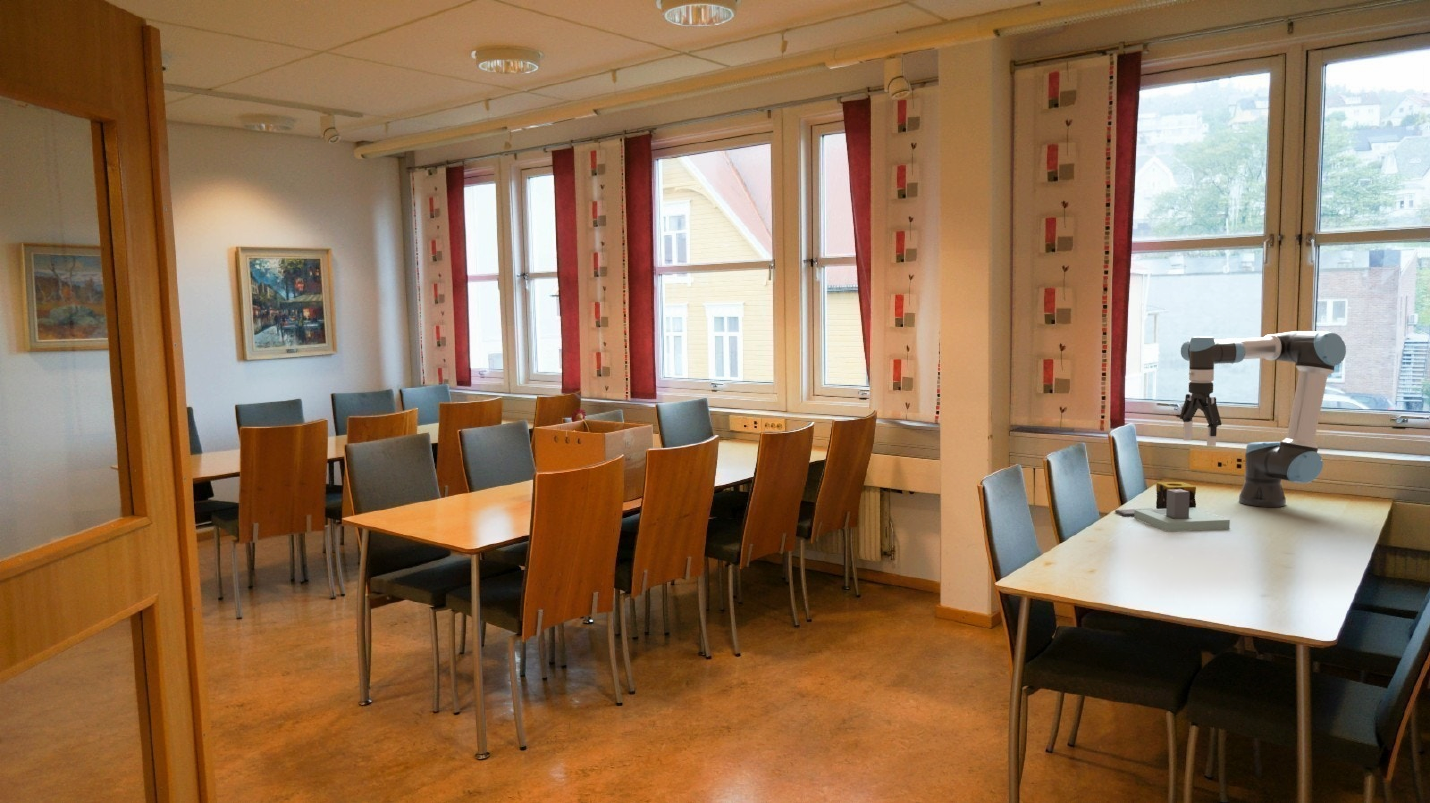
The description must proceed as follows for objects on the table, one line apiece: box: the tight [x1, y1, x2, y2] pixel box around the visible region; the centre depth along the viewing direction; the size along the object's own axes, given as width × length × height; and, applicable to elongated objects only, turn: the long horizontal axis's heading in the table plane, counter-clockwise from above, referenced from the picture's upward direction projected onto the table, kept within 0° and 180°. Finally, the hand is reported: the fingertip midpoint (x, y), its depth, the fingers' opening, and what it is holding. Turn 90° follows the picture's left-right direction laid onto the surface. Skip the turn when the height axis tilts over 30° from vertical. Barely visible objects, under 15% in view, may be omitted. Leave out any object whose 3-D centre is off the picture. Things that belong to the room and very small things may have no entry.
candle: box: [1155, 481, 1197, 509], centre depth 343 cm, size 10×10×10 cm
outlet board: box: [1134, 507, 1231, 532], centre depth 325 cm, size 22×20×3 cm
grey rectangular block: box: [1166, 489, 1190, 519], centre depth 321 cm, size 5×5×12 cm
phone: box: [1114, 508, 1145, 518], centre depth 340 cm, size 14×7×1 cm, turn 95°
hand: (1199, 443), depth 328 cm, fingers open, 13 cm apart
